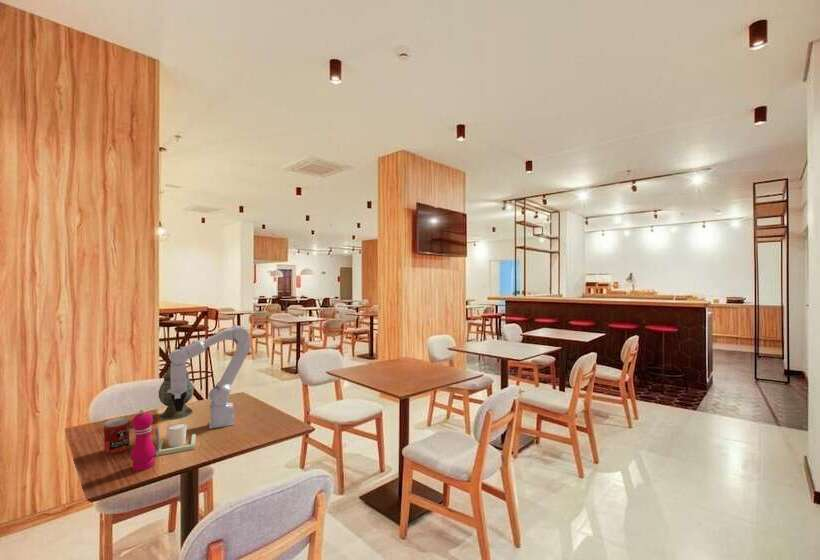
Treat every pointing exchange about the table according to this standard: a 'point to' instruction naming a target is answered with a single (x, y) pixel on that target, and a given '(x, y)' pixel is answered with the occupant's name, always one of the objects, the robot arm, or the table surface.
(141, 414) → the pepper mill
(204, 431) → the table surface
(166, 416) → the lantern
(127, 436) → the canned food
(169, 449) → the pale green angular frame
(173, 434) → the beige faceted cylinder
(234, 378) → the robot arm
